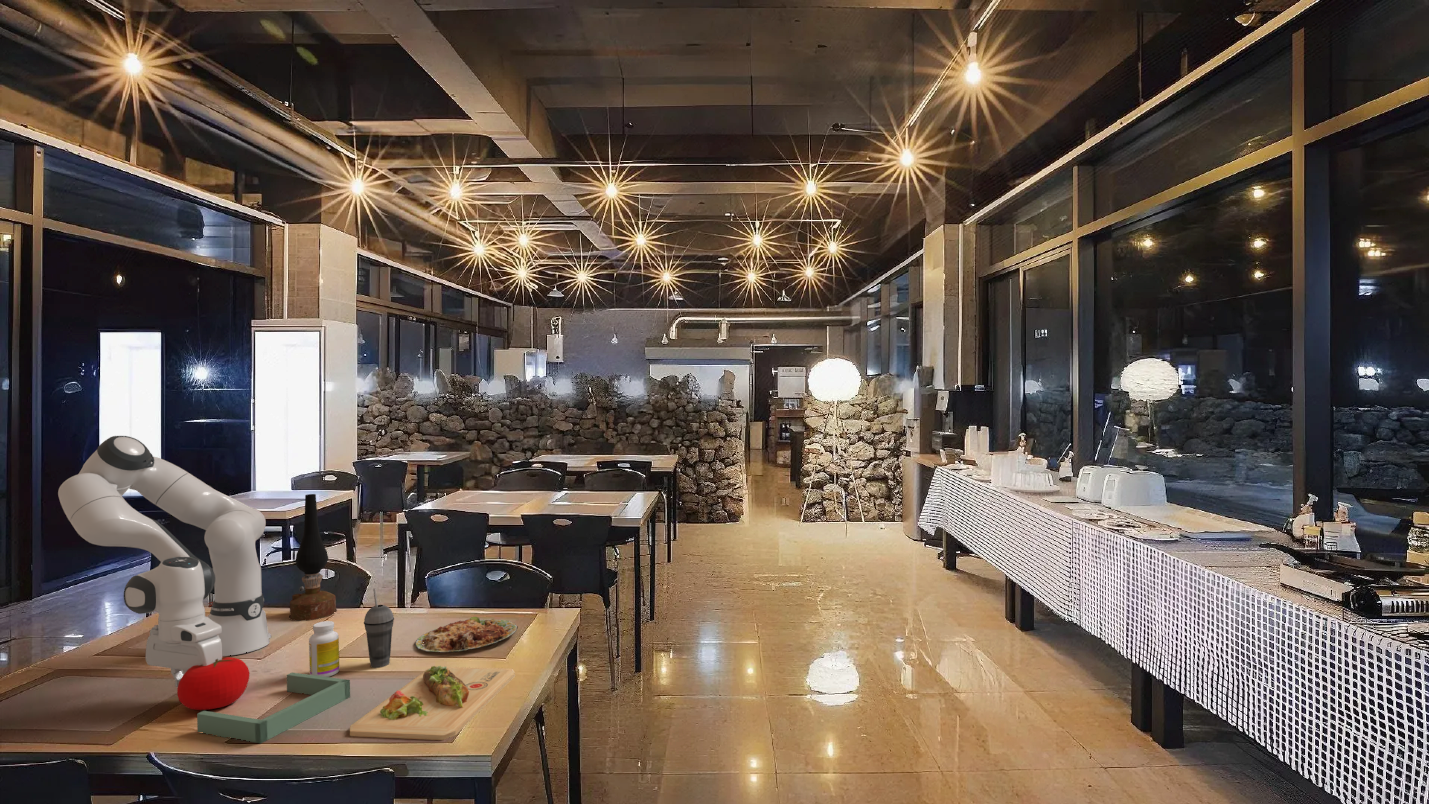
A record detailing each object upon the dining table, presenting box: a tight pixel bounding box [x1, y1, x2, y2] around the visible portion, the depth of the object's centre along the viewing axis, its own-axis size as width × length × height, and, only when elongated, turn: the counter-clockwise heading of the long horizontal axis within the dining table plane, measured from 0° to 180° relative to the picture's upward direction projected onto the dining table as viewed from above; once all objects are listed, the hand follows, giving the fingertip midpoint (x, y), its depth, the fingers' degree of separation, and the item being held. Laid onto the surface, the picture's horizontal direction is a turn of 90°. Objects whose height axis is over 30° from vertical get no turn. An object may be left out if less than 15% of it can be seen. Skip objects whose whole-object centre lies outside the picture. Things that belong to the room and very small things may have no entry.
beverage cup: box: [363, 588, 395, 669], centre depth 186 cm, size 7×7×20 cm
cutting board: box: [349, 665, 516, 741], centre depth 162 cm, size 35×23×8 cm
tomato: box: [176, 656, 251, 711], centre depth 163 cm, size 14×13×10 cm
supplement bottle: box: [308, 620, 340, 677], centre depth 180 cm, size 7×7×13 cm
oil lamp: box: [288, 493, 338, 621], centre depth 233 cm, size 14×15×40 cm
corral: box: [196, 672, 351, 744], centre depth 157 cm, size 18×23×4 cm
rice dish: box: [414, 616, 518, 653], centre depth 205 cm, size 28×28×5 cm
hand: (183, 686), depth 166 cm, fingers closed
